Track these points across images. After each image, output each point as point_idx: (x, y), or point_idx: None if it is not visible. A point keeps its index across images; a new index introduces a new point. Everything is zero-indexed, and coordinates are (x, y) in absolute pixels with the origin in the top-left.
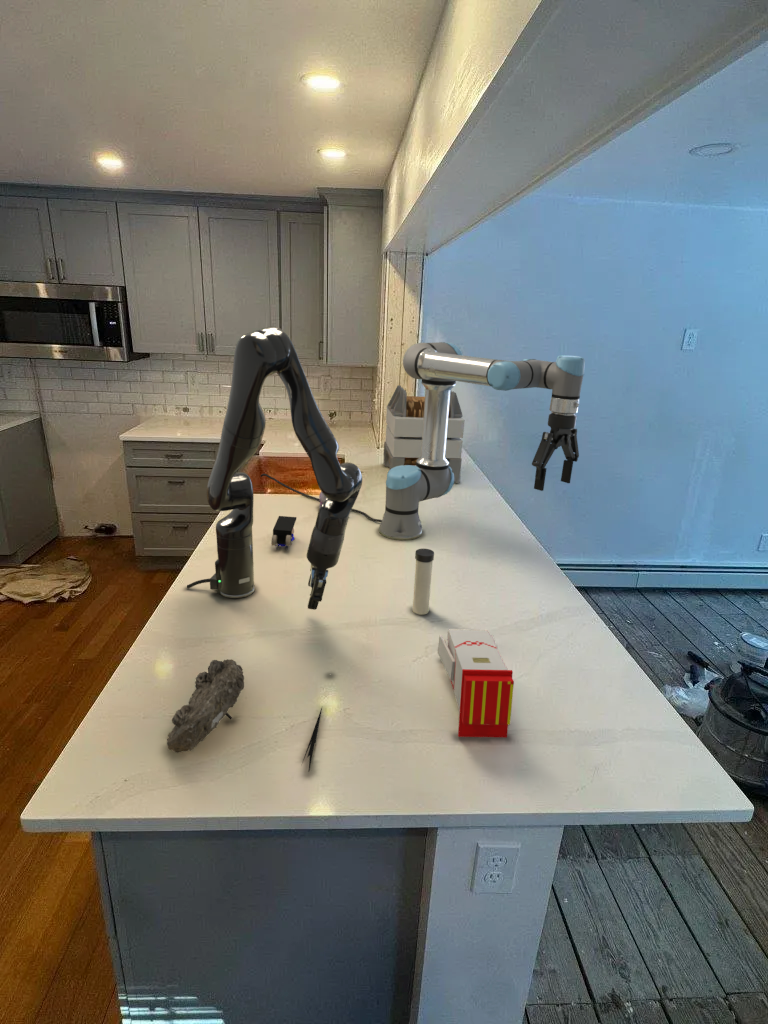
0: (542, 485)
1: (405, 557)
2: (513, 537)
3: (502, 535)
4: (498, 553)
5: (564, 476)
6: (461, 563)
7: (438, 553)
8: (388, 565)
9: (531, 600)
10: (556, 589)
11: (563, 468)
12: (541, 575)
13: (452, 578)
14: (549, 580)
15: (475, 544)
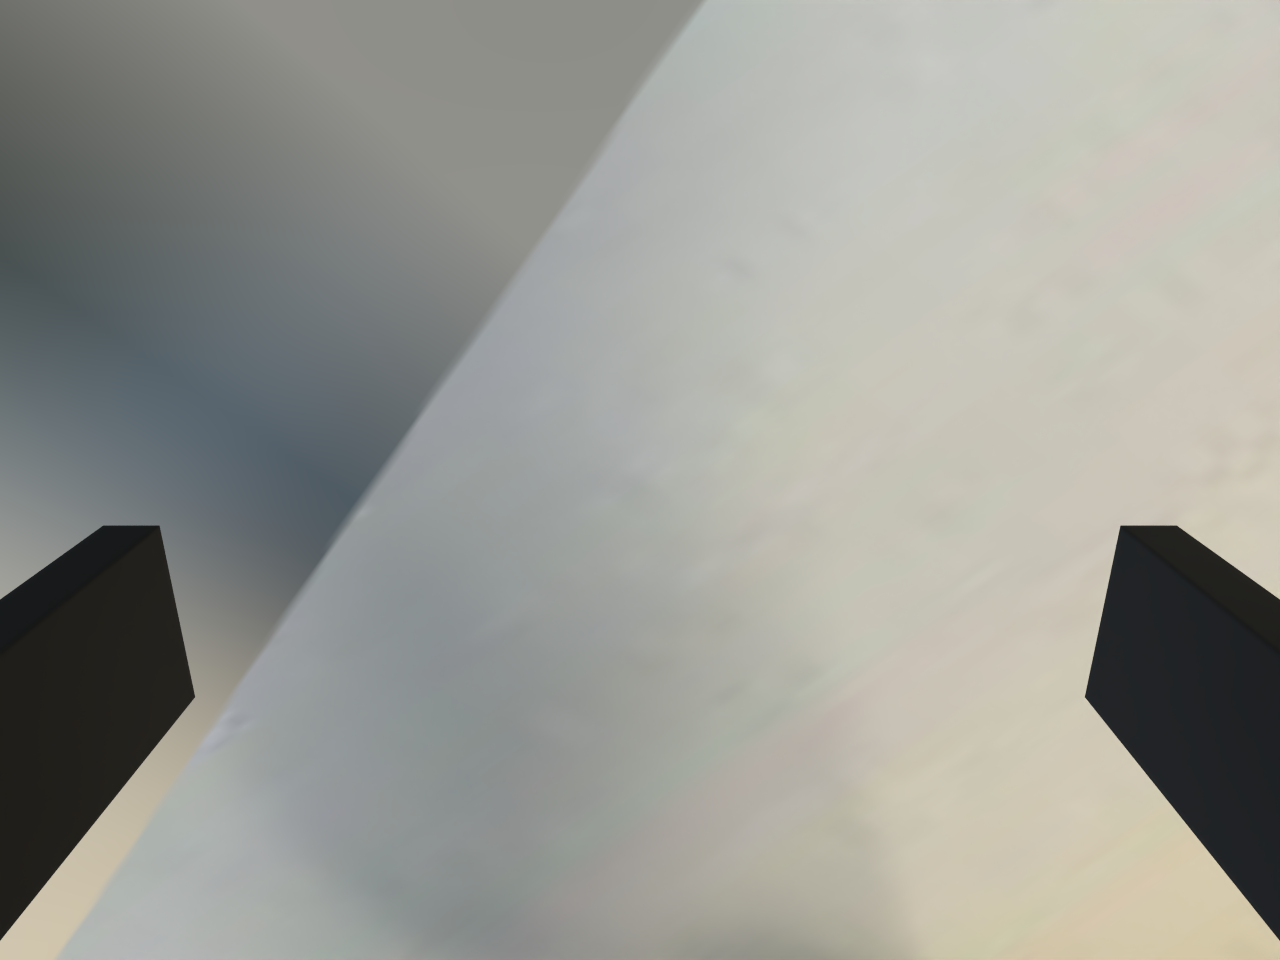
0: (1250, 585)
1: (1111, 875)
2: (316, 730)
3: (357, 784)
4: (617, 632)
5: (113, 707)
6: (935, 665)
7: (921, 818)
8: None
9: (1073, 53)
10: (779, 42)
11: (6, 902)
12: (667, 254)
13: None
14: (690, 167)
15: (628, 787)
